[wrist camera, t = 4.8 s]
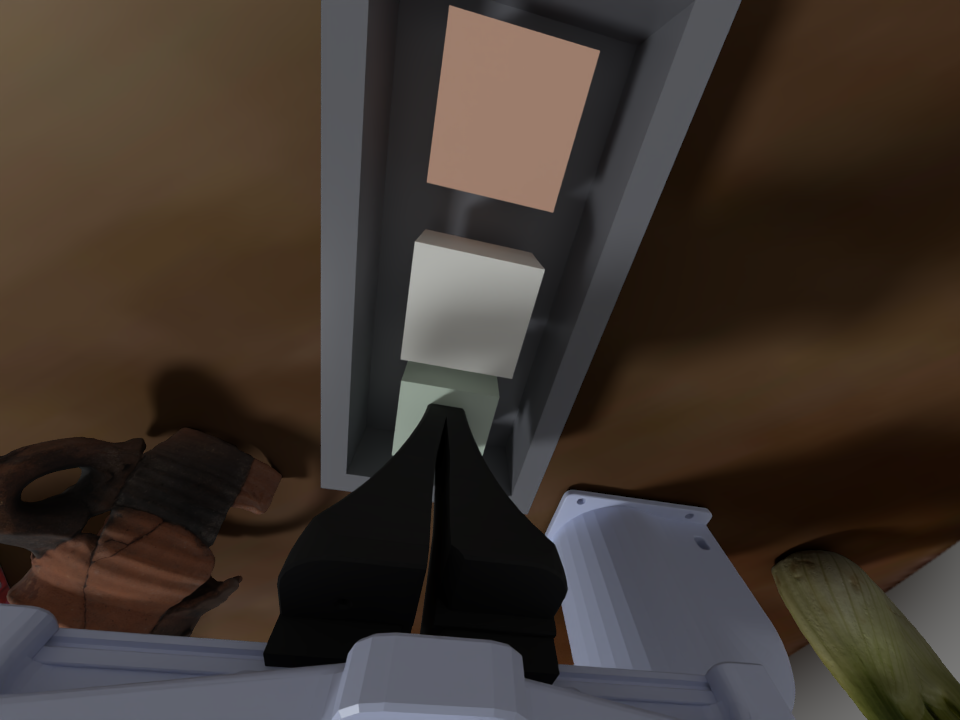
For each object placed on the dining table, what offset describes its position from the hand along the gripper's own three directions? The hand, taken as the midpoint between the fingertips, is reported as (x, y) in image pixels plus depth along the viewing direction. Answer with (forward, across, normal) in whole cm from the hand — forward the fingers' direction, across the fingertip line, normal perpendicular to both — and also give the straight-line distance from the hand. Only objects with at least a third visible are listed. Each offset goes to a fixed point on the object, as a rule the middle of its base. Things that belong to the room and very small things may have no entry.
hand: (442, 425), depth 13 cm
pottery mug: (+4, +13, +10) cm, 17 cm away
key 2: (+2, 0, -10) cm, 10 cm away
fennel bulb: (+4, -27, +10) cm, 29 cm away
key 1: (+2, 0, 0) cm, 2 cm away
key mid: (+1, 0, -5) cm, 5 cm away
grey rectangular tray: (+4, 0, -5) cm, 6 cm away
